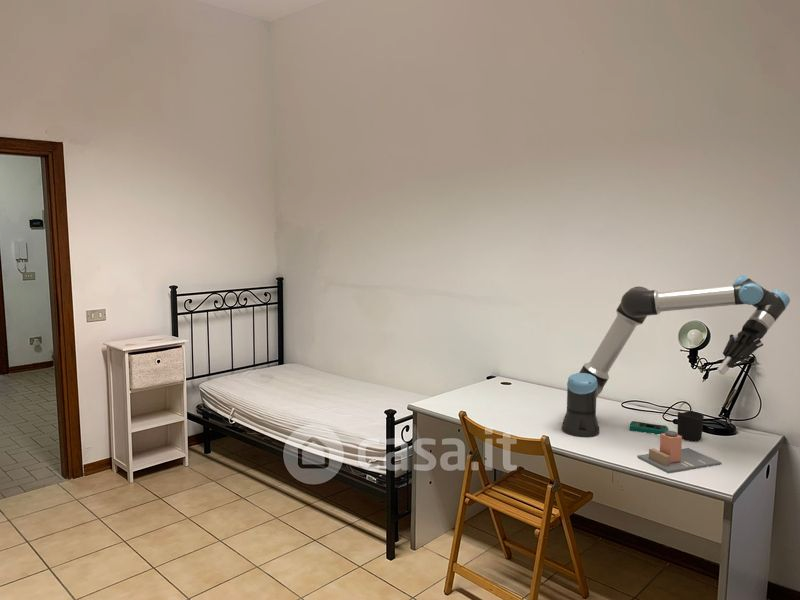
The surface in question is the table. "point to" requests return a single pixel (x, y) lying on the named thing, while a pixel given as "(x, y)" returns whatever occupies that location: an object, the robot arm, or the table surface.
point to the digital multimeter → (648, 427)
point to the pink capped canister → (671, 445)
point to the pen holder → (690, 425)
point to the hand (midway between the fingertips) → (720, 372)
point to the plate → (688, 461)
